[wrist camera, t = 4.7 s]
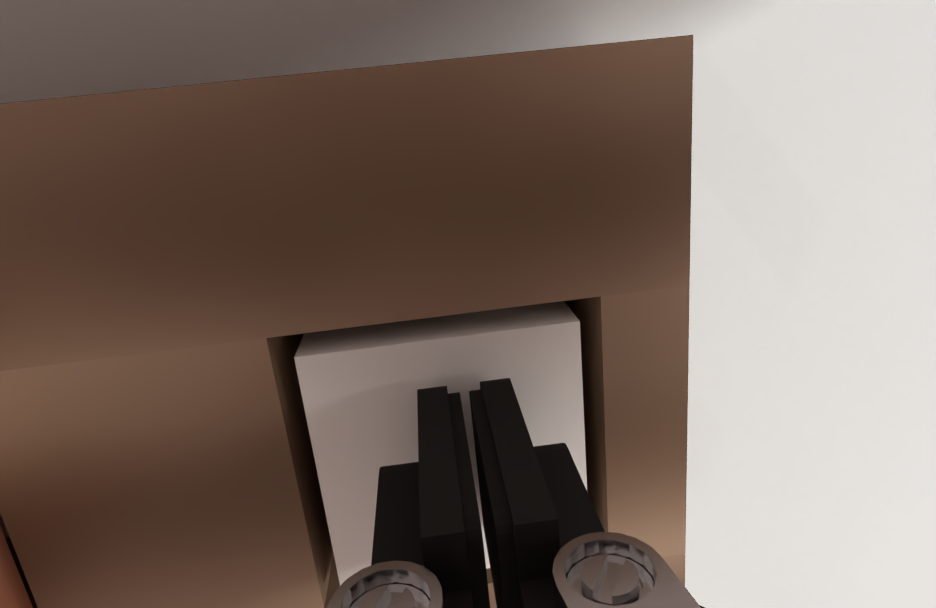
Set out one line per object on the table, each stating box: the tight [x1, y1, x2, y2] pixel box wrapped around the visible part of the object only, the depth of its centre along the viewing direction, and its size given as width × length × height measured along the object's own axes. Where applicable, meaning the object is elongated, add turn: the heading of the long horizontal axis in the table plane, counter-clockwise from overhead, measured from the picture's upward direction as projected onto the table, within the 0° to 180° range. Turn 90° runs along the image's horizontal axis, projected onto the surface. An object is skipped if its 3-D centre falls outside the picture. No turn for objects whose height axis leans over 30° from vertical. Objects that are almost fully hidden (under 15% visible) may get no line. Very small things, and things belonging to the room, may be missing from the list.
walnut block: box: [0, 35, 693, 608], centre depth 14 cm, size 14×20×6 cm
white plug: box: [294, 301, 587, 586], centre depth 14 cm, size 5×5×4 cm
